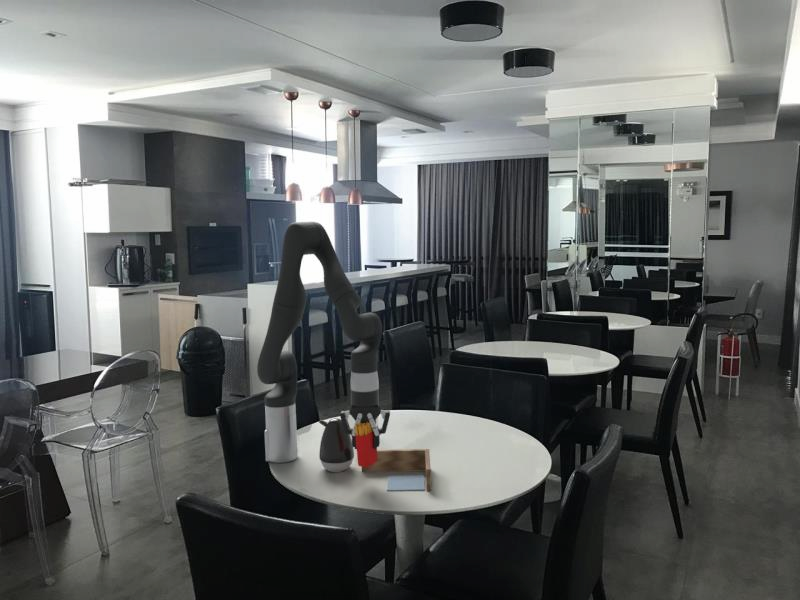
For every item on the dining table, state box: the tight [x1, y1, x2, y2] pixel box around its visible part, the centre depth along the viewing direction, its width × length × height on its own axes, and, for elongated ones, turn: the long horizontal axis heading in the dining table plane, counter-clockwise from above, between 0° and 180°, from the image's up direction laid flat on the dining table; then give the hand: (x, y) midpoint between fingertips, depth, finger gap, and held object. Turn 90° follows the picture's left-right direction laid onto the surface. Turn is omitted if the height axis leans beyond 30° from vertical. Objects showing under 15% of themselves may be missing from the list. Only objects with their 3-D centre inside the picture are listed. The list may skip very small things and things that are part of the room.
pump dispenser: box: [318, 417, 355, 473], centre depth 193 cm, size 10×10×15 cm
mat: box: [386, 474, 426, 492], centre depth 182 cm, size 10×10×1 cm
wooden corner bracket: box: [361, 448, 432, 492], centre depth 184 cm, size 20×16×6 cm
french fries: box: [355, 422, 378, 468], centre depth 180 cm, size 8×4×12 cm, turn 152°
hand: (366, 447), depth 180 cm, fingers closed on french fries, 4 cm apart
